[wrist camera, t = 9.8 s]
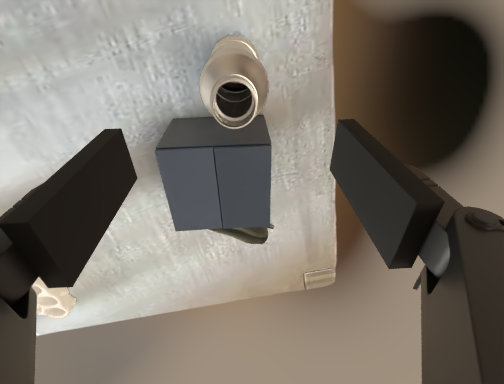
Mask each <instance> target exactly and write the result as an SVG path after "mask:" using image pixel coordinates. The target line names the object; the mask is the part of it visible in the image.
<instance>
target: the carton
mask: <svg viewBox="0 0 504 384" xmlns="http://www.w3.org/2000/svg"><path fill="white" fill-rule="evenodd" d="M202 147H213V152H214V160H215V168H216V177H217V185H218V193H219V202H220V210H221V218H222V225H223V229H228V228H248V227H267V226H270V189H271V140H270V137H269V133H268V129H267V125H266V122H265V118H264V115H257V116H256V117H254V118H253V120H252V121H251V122H250V123H249V124H248V125H246V126H244V127H242V128H239V129H230V128H227V127H224V126H223V125H221V124H220V123H219V122H218V121H217V120H216V119H215V118H214V117H203V118H178V119H173V120H172V121H171V123H170V125H169V126H168V128H167V130H166V132H165V133H164V135H163V137H162V138H161V140H160V142H159V143H158V145H157V147H156V150H163V149H182V148H202Z"/></svg>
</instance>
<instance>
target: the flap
mask: <svg viewBox="0 0 504 384" xmlns="http://www.w3.org/2000/svg"><path fill="white" fill-rule="evenodd" d="M155 155H156V158H157V162H158V166H159V170H160V174H161V177H162V181H163V185H164V189H165V193H166V196H167V200H168V204H169V208H170V212H171V215H172V219H173V223H174V227H175V231H186V230H201V229H216V228H222V218H221V210H220V202H219V193H218V185H217V177H216V168H215V160H214V152H213V147H202V148H182V149H163V150H155Z"/></svg>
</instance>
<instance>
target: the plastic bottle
mask: <svg viewBox="0 0 504 384" xmlns="http://www.w3.org/2000/svg"><path fill="white" fill-rule="evenodd" d="M268 91H269V82H268V77H267V74H266V71H265V69H264V67H263V65H262V64H261V62H260V60H259V55H258V53H257V50H256V49H255V47H254V45H253V44H252V43H251V42H250V41H249V40H247V39H246V38H244V37H242V36H238V35H230V36H227V37H224V38H223V39H221V40H220V41H219V42H218V43H217V44H216V45H215V47H214V48H213V51H212V53H211V57H210V59H209V60H208V61H207V63H206V64H205V66H204V68H203V70H202V73H201V77H200V94H201V97H202V100H203V103H204V104H205V106H206V108H207V109H208V111H209V112H210V113H211V114H212V115H213V116H214V118H215V119H216V120H217V121H218V122H219V123H220V124H221V125H223V126H224V127H227V128H230V129H239V128H242V127H244V126H246V125H248V124H249V123H250V122H251V121H252V120H253V118H254V117H256V116H257V115H258V114H259V112H260V111H261V110H262V108H263V107H264V105H265V103H266V100H267V97H268Z"/></svg>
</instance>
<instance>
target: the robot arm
mask: <svg viewBox="0 0 504 384" xmlns="http://www.w3.org/2000/svg"><path fill="white" fill-rule="evenodd" d="M330 171H331V172H332V174H333V176H334V178H335V179H336V181H337V183H338V184H339V186H340V187H341V189H342V191H343V193H344V194H345V196H346V198H347V199H348V201H349V203H350V204H351V206H352V207H353V209H354V211H355V213H356V214H357V216H358V218H359V219H360V221H361V223H362V225H363V226H364V228H365V230H366V231H367V233H368V235H369V236H370V238H371V240H372V241H373V243H374V245H375V246H376V248H377V249H378V251H379V253H380V255H381V256H382V258H383V259H384V261H385V263H386V265H387V266H388V268H389V269H397V268H412V266H413V264H414V262H415V260H416V258H417V256H418V255H419V256H420V258H421V259H422V261H423V262H424V263H425V266H424V268H423V270H422V271H421V273H420V275H419V277H418V279H417V280H416V283H415V284H414V287H413V289H418V287H419V285H420V284H421V329H422V384H504V219H503V218H502V217H500V216H498V215H496V214H494V213H492V212H490V211H486V210H483V209H480V208H474V207H463V206H462V205H461V204H460V203H459V202H457V201H456V200H455V199H454V198H453V197H451V196H450V195H449V194H448V193H447V192H446V191H445V190H443V189H442V188H441V187H440V186H438V185H437V184H436V183H435V182H434V181H433V180H430V178H429V177H428V176H427V175H426V174H425V173H423V172H422V171H421V170H419V169H417V168H415V167H412V166H411V165H409V164H405V165H404V164H403V163H402V162H401V161H400V160H398V159H397V158H396V157H395V156H394V155H393V154H392V153H391V152H390V151H389V150H387V149H386V148H385V147H384V146H383V145H382V144H381V143H380V142H378V141H377V140H376V139H375V138H374V137H373V136H372V135H371V134H370V133H369V132H368V131H366V130H365V129H364V128H363V127H362V126H361V125H360V124H359V123H358V122H356V121H355V120H354V119H345V120H338V124H337V130H336V136H335V141H334V147H333V153H332V159H331V165H330ZM136 180H137V176H136V172H135V169H134V166H133V163H132V160H131V157H130V154H129V151H128V148H127V145H126V142H125V139H124V136H123V133H122V130H121V129H104V130H103V131H102V132H101V133H100V134H99V135H98V136H96V137H95V138H94V139H93V140H92V141H91V142H90V143H89V144H87V145H86V146H85V147H84V148H83V149H82V150H81V151H80V152H78V153H77V154H76V155H75V156H74V157H73V158H72V159H70V160H69V161H68V162H67V163H66V164H65V165H64V166H63V167H61V168H60V169H59V170H58V171H57V172H56V173H55V174H54V175H52V176H51V177H50V178H49V179H48V180H47V181H46V182H44V183H43V184H41V185H39V186H38V187H36V188H34V189H32V190H31V191H30V192H29V193H27V194H26V195H25V196H24V197H23V198H22V200H19V201H18V202H17V203H16V204H15V205H14V206H13V208H10V209H9V210H8V211H7V212H5V213H4V214H3V215H2V216H1V217H0V384H34V376H35V375H34V374H35V345H36V314H37V295H36V292H35V290H34V289H33V288H32V287H31V286H32V285H33V284H34V282H35V281H36V280H37V278H38V277H40V279H41V280H42V281H43V282H44V284H45V285H46V286H47V288H63V287H73V285H74V283H75V282H76V280H77V278H78V277H79V275H80V273H81V272H82V270H83V268H84V267H85V265H86V263H87V262H88V260H89V258H90V257H91V255H92V253H93V252H94V250H95V248H96V247H97V245H98V243H99V242H100V240H101V238H102V237H103V235H104V233H105V232H106V230H107V228H108V227H109V225H110V223H111V222H112V220H113V218H114V217H115V215H116V213H117V212H118V210H119V208H120V207H121V205H122V203H123V202H124V200H125V198H126V197H127V195H128V193H129V191H130V190H131V188H132V186H133V185H134V183H135V181H136Z"/></svg>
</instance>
